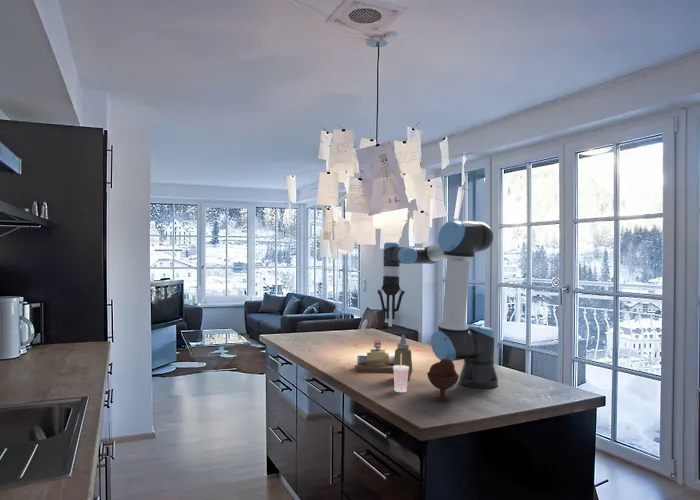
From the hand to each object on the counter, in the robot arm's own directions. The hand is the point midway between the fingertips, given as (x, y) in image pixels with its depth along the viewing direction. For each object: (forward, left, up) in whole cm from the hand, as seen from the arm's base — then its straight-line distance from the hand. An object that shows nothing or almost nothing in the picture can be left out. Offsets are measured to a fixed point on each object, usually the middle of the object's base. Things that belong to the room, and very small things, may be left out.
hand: (390, 326), depth 240 cm
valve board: (-10, +6, -18) cm, 21 cm away
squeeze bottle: (-27, -4, -18) cm, 33 cm away
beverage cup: (-45, -2, -18) cm, 49 cm away
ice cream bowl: (-57, -16, -18) cm, 62 cm away
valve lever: (-4, +6, -9) cm, 12 cm away
